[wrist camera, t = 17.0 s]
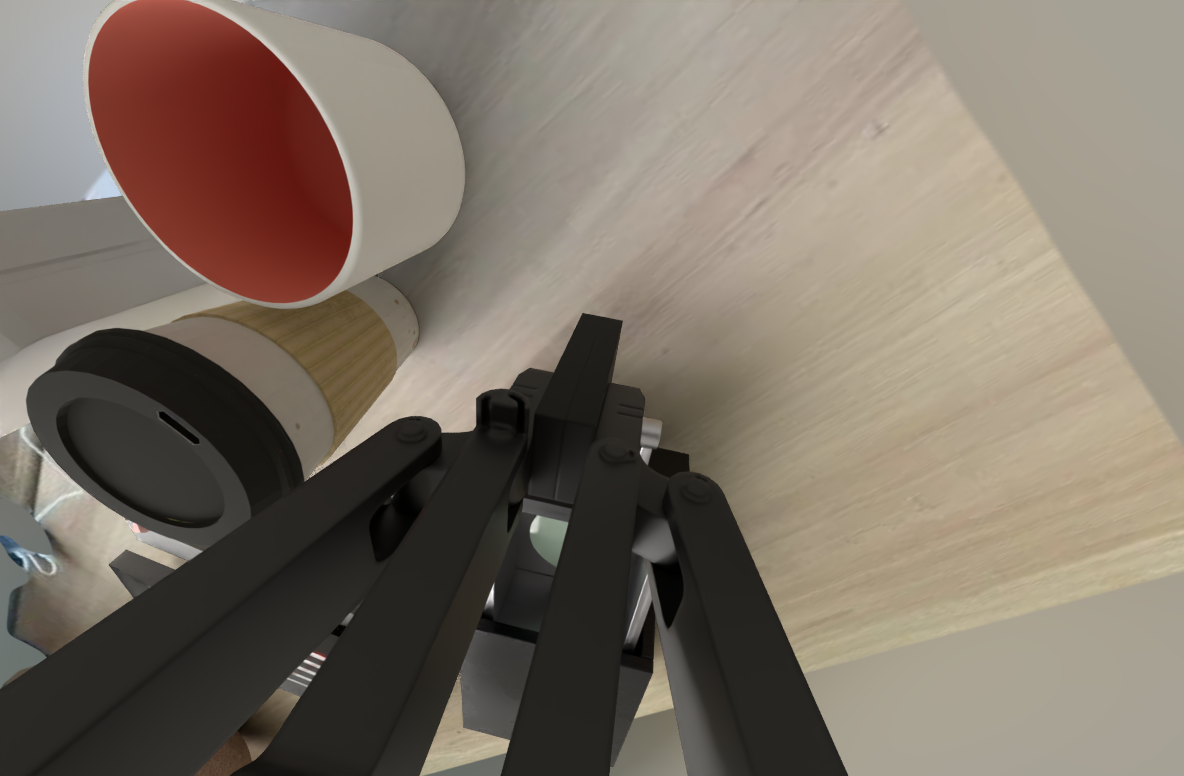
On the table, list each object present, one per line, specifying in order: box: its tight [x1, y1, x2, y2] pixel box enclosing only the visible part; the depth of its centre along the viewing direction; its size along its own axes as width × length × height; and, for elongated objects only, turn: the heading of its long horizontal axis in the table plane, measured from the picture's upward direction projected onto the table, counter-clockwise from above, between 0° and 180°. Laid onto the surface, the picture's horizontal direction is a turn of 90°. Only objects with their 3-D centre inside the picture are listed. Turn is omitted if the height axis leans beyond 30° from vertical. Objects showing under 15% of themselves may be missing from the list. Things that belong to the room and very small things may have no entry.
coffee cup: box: [26, 276, 419, 546], centre depth 23 cm, size 10×10×15 cm
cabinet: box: [460, 601, 656, 767], centre depth 38 cm, size 17×14×9 cm
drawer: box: [484, 417, 690, 655], centre depth 30 cm, size 21×13×7 cm, turn 172°
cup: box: [83, 0, 465, 309], centre depth 20 cm, size 10×10×10 cm
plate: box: [529, 515, 568, 567], centre depth 32 cm, size 7×7×2 cm
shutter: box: [109, 519, 364, 697], centre depth 53 cm, size 32×7×31 cm
